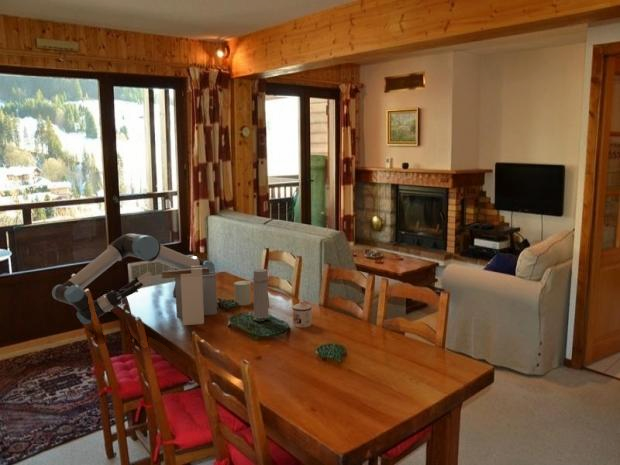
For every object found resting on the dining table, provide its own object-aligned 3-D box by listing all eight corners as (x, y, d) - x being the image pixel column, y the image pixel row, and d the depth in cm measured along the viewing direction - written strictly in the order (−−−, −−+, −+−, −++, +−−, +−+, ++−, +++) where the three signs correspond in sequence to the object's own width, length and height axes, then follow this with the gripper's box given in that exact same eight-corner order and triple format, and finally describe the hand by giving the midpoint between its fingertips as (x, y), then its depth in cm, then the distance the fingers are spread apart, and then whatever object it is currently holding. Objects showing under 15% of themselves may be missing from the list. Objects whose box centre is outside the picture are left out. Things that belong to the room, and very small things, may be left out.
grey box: (176, 313, 276) (175, 274, 273) (216, 310, 280) (214, 272, 277) (176, 317, 269) (174, 277, 266) (217, 314, 274) (215, 274, 271)
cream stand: (182, 319, 266) (180, 266, 262) (203, 317, 268) (201, 265, 264) (182, 325, 256) (180, 270, 252) (204, 323, 259) (202, 269, 255)
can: (250, 305, 289) (249, 283, 287) (233, 305, 289) (232, 283, 287) (252, 300, 298) (251, 279, 296) (235, 300, 298) (235, 279, 296)
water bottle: (262, 323, 258) (261, 272, 254) (250, 320, 263) (249, 270, 259) (274, 318, 265) (273, 269, 262) (262, 316, 270) (261, 267, 266)
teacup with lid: (288, 324, 257) (288, 300, 255) (304, 320, 262) (304, 297, 260) (303, 330, 247) (303, 306, 245) (319, 327, 252) (319, 303, 251)
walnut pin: (161, 277, 255) (161, 271, 255) (208, 273, 263) (207, 267, 263) (162, 278, 253) (162, 272, 252) (209, 274, 261) (209, 268, 260)
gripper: (117, 300, 265) (155, 276, 267) (111, 314, 241) (152, 289, 243) (109, 287, 263) (146, 264, 266) (101, 301, 239) (143, 275, 241)
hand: (149, 276), depth 254 cm, fingers open, 13 cm apart
